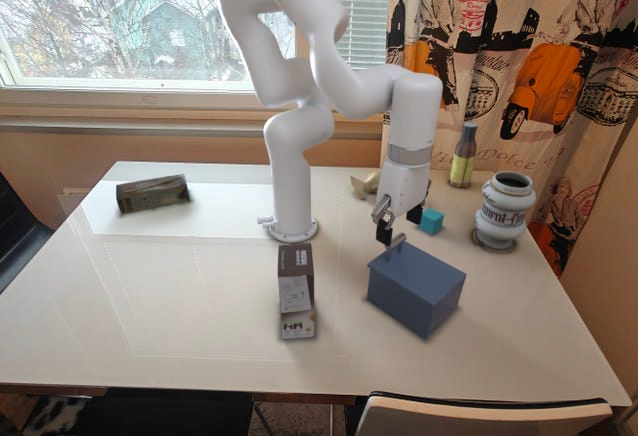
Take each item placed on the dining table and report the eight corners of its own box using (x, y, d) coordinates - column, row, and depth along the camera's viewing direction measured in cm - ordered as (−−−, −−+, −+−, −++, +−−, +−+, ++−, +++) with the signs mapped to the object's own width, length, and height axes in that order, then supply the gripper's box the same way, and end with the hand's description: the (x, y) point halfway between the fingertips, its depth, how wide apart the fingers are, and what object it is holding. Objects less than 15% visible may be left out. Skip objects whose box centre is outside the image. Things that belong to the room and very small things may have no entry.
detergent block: (432, 235, 101) (435, 220, 99) (417, 227, 104) (420, 213, 101) (441, 227, 104) (444, 214, 101) (426, 221, 106) (429, 207, 104)
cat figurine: (346, 173, 116) (383, 159, 116) (349, 188, 122) (384, 174, 122) (356, 193, 111) (394, 178, 112) (358, 207, 117) (395, 193, 117)
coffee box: (315, 337, 74) (315, 275, 65) (282, 339, 74) (277, 277, 65) (312, 301, 82) (311, 242, 72) (281, 303, 81) (277, 243, 72)
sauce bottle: (466, 179, 126) (481, 120, 115) (471, 189, 121) (486, 128, 110) (446, 178, 126) (458, 119, 115) (449, 188, 121) (463, 127, 110)
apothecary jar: (459, 237, 100) (475, 176, 90) (486, 221, 106) (504, 162, 96) (501, 261, 92) (524, 197, 82) (528, 243, 98) (552, 181, 88)
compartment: (366, 299, 82) (369, 268, 77) (399, 273, 89) (404, 243, 84) (425, 340, 74) (433, 308, 69) (456, 308, 80) (466, 277, 75)
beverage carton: (191, 202, 114) (187, 182, 110) (120, 217, 107) (113, 196, 104) (187, 189, 120) (183, 170, 116) (120, 203, 113) (113, 183, 110)
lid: (366, 266, 78) (368, 245, 75) (401, 241, 84) (404, 221, 81) (433, 308, 69) (439, 286, 66) (466, 277, 75) (472, 255, 72)
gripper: (419, 131, 73) (408, 207, 83) (359, 159, 63) (354, 242, 73) (455, 142, 69) (439, 222, 78) (397, 174, 59) (386, 261, 68)
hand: (398, 231), depth 76 cm, fingers open, 9 cm apart
